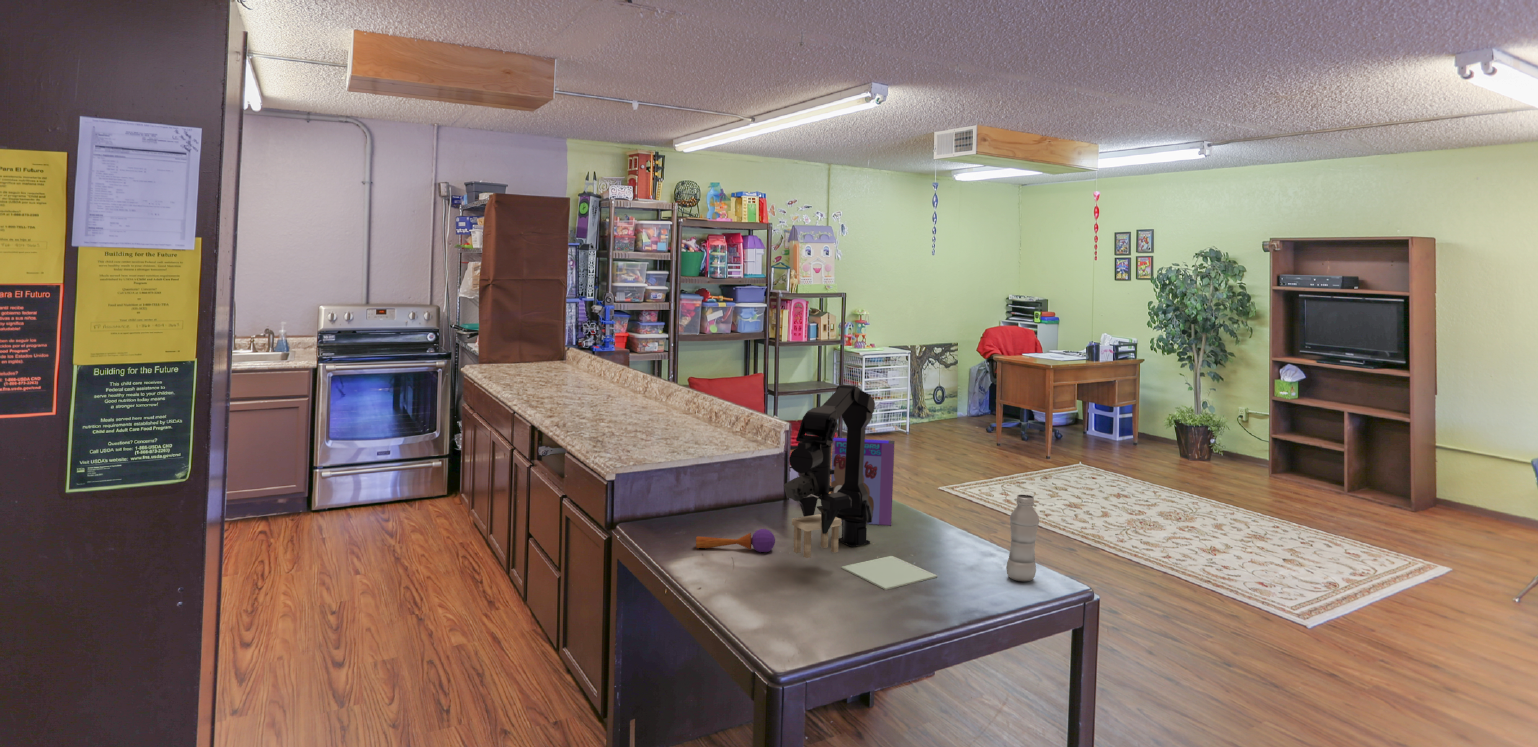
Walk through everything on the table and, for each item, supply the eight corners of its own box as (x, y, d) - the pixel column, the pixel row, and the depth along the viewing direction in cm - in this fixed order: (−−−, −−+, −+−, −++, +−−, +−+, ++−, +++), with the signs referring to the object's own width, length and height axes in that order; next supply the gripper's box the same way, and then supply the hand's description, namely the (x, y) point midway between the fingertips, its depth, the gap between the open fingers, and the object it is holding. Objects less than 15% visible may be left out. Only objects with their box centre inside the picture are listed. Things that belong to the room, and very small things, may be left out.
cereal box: (830, 521, 231) (832, 439, 229) (831, 517, 236) (834, 436, 233) (891, 525, 228) (894, 443, 226) (891, 521, 233) (894, 439, 231)
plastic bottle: (1001, 574, 191) (1005, 492, 189) (1029, 574, 192) (1033, 492, 189) (1011, 584, 185) (1016, 499, 182) (1040, 584, 185) (1045, 499, 183)
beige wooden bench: (791, 551, 189) (792, 518, 189) (825, 544, 195) (826, 512, 194) (805, 558, 184) (806, 525, 184) (840, 552, 190) (841, 519, 189)
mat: (841, 568, 193) (841, 566, 193) (891, 557, 202) (891, 555, 202) (885, 589, 180) (885, 588, 180) (937, 577, 189) (937, 575, 188)
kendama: (698, 529, 209) (775, 527, 207) (699, 553, 208) (776, 550, 207) (694, 532, 203) (773, 529, 201) (695, 556, 202) (774, 553, 201)
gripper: (767, 460, 191) (766, 524, 192) (814, 476, 175) (812, 546, 177) (805, 456, 197) (804, 518, 198) (853, 471, 181) (851, 538, 183)
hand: (816, 529), depth 189 cm, fingers closed on beige wooden bench, 6 cm apart
